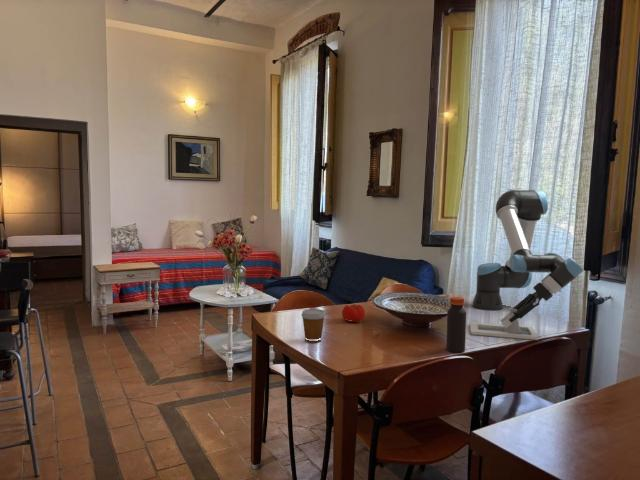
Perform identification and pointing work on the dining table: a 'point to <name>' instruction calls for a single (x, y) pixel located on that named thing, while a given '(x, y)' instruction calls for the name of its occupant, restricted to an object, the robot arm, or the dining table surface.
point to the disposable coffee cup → (313, 324)
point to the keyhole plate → (501, 331)
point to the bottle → (456, 326)
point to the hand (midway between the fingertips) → (503, 324)
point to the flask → (513, 325)
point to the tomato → (353, 313)
